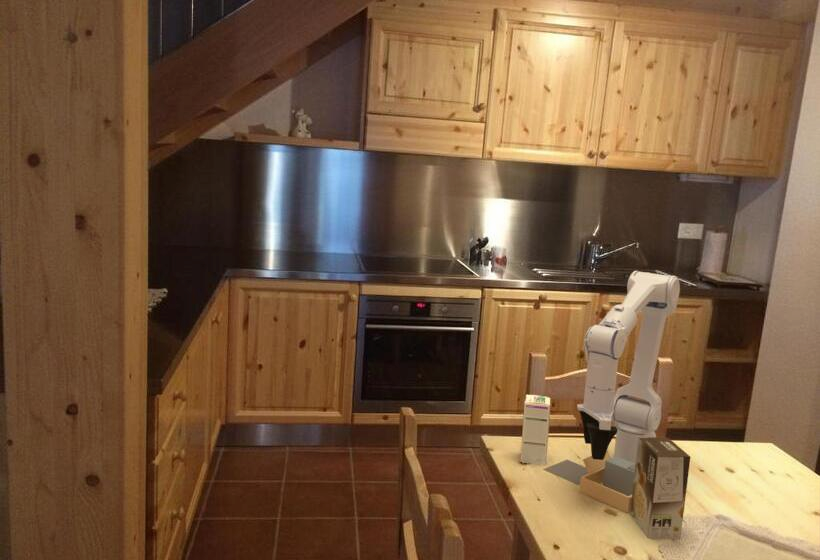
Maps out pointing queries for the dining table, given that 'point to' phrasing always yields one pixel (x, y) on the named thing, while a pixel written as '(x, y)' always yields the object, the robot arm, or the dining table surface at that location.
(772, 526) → the dining table surface
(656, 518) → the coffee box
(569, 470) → the mat
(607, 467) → the block
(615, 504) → the carton
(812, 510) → the dining table surface
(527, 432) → the syrup box
